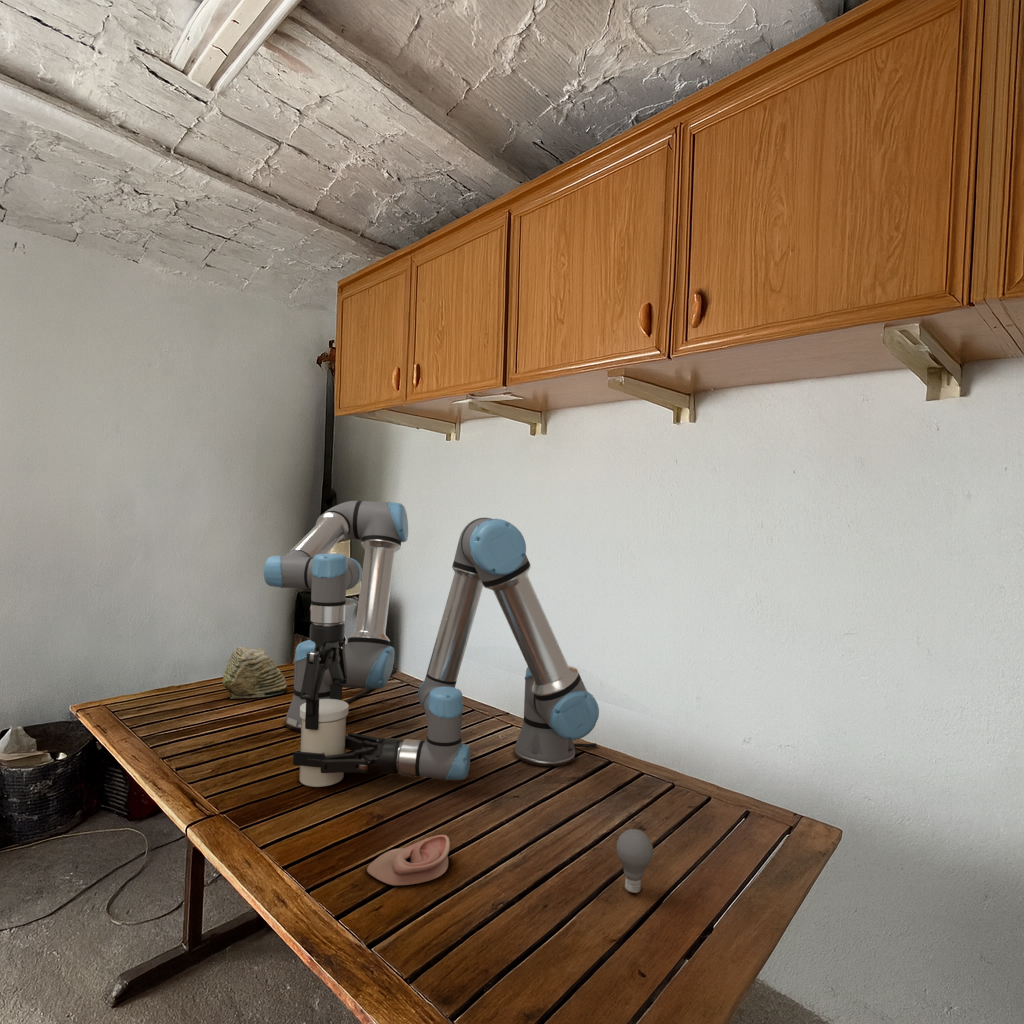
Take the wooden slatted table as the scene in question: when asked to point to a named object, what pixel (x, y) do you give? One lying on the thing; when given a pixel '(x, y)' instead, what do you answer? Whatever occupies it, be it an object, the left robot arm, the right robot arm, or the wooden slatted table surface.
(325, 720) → the lid
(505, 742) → the wooden slatted table surface
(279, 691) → the fossil
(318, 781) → the jar
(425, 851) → the anatomical model
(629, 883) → the light bulb
